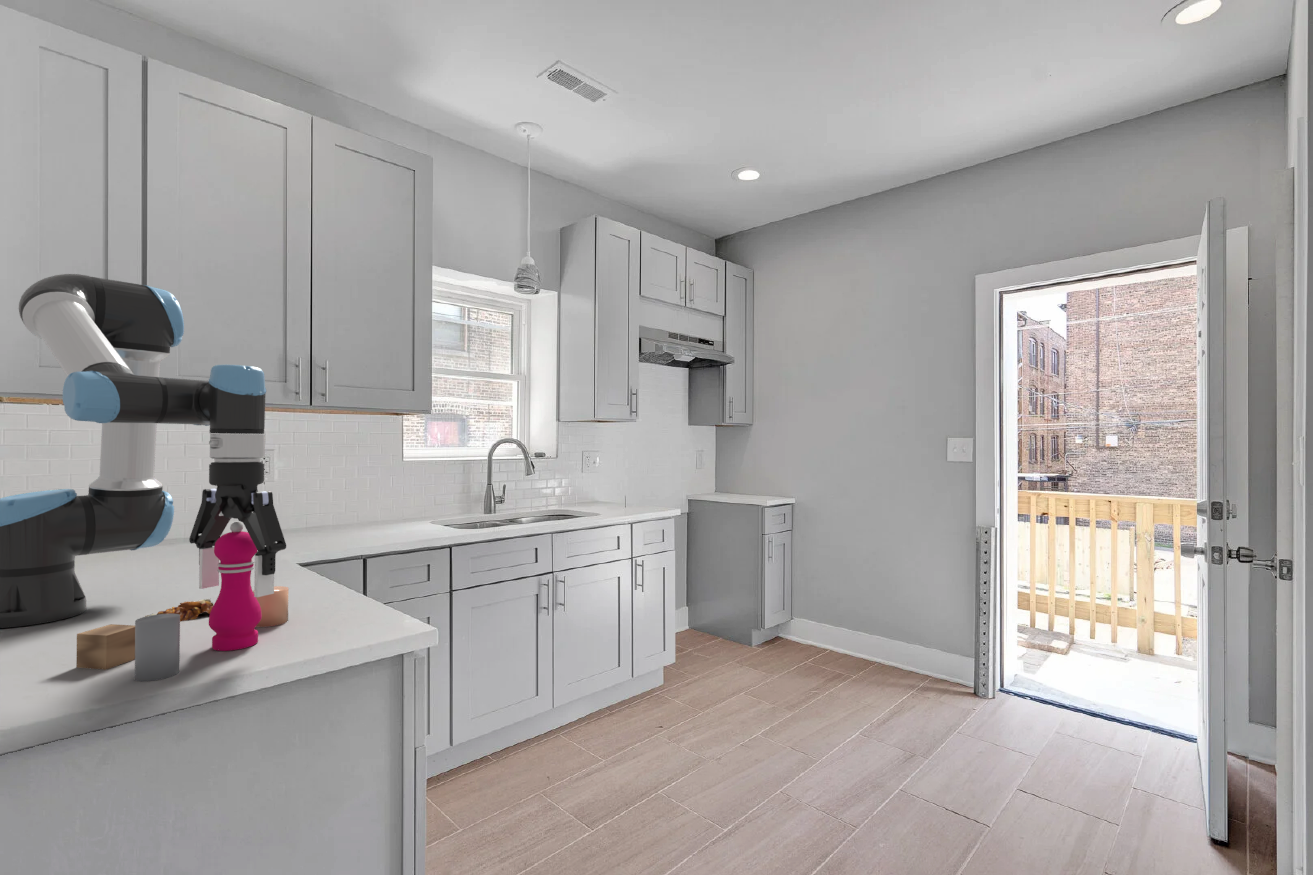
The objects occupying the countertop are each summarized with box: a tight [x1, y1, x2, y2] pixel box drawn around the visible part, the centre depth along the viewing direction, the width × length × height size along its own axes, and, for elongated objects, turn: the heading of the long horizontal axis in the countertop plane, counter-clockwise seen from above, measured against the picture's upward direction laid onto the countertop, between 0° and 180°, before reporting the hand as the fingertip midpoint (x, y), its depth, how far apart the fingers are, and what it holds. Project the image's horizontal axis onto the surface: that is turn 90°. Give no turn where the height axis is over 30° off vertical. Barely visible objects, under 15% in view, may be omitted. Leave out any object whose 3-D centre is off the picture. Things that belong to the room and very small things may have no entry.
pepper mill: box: [208, 521, 262, 652], centre depth 103 cm, size 7×7×20 cm
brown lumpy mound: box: [144, 598, 214, 623], centre depth 119 cm, size 7×12×4 cm, turn 141°
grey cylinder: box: [134, 614, 181, 682], centre depth 90 cm, size 5×5×8 cm
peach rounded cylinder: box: [252, 585, 290, 628], centre depth 116 cm, size 6×6×6 cm
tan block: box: [75, 624, 135, 671], centre depth 95 cm, size 5×5×5 cm
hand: (235, 591), depth 103 cm, fingers open, 13 cm apart
